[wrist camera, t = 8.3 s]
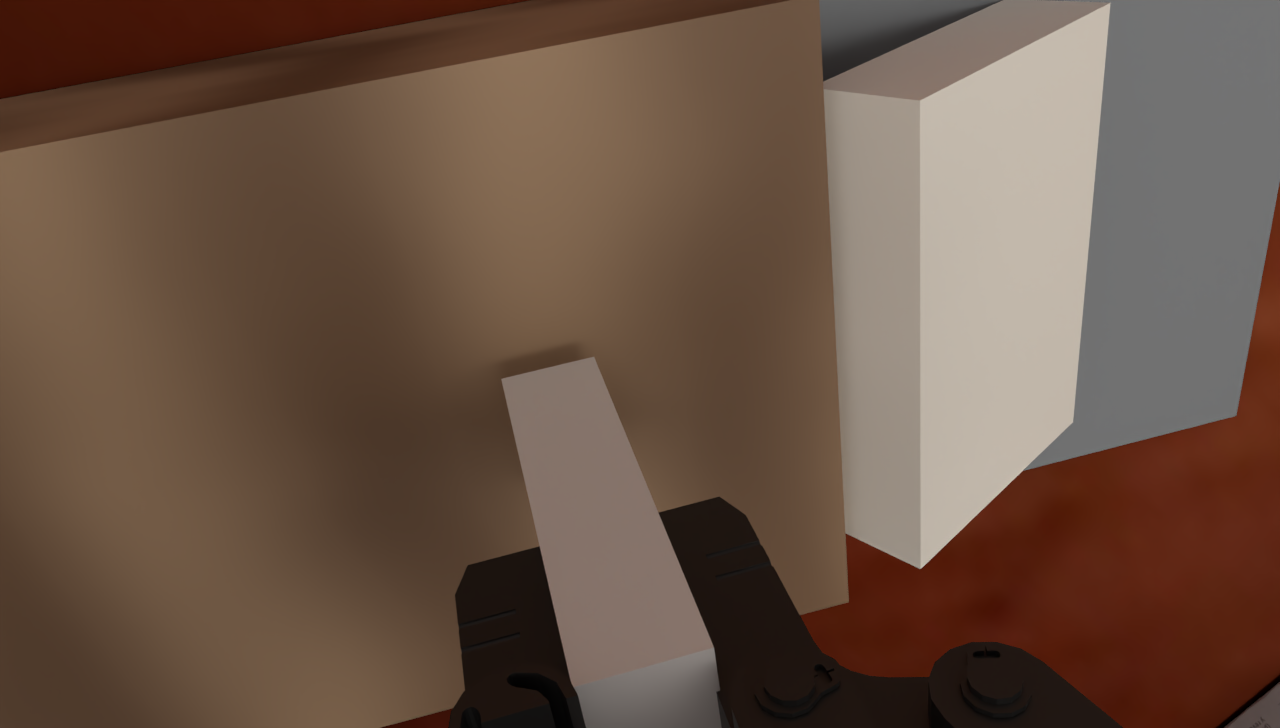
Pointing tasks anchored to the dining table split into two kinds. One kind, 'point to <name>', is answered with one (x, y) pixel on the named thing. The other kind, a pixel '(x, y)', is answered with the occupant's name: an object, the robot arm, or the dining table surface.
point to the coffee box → (1261, 712)
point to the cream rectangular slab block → (960, 260)
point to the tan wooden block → (391, 341)
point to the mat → (1150, 201)
